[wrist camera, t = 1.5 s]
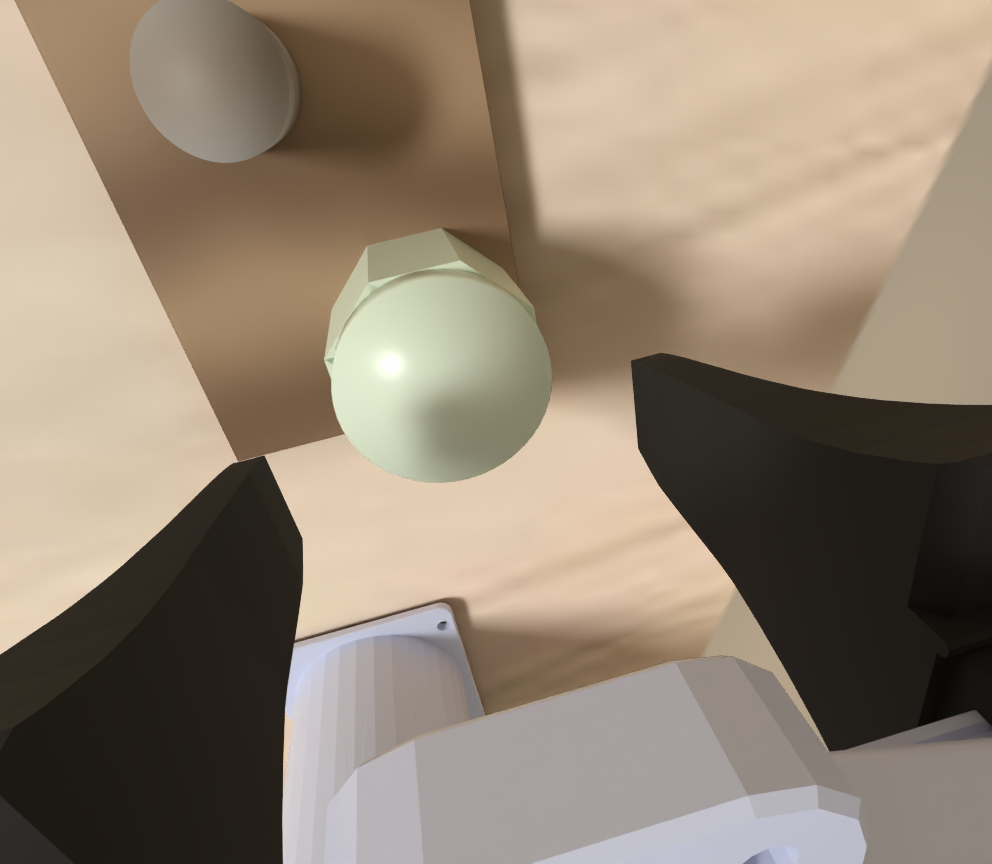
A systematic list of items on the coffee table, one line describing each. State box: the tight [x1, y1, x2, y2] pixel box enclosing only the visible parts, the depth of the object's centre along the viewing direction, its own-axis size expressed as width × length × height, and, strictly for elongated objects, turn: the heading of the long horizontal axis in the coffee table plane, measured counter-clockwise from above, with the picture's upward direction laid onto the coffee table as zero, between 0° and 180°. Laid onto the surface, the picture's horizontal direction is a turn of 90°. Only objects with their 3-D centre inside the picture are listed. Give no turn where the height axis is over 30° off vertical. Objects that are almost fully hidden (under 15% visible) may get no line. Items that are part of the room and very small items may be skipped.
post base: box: [15, 0, 519, 461], centre depth 16 cm, size 14×10×4 cm
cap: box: [324, 228, 552, 483], centre depth 17 cm, size 5×5×5 cm
